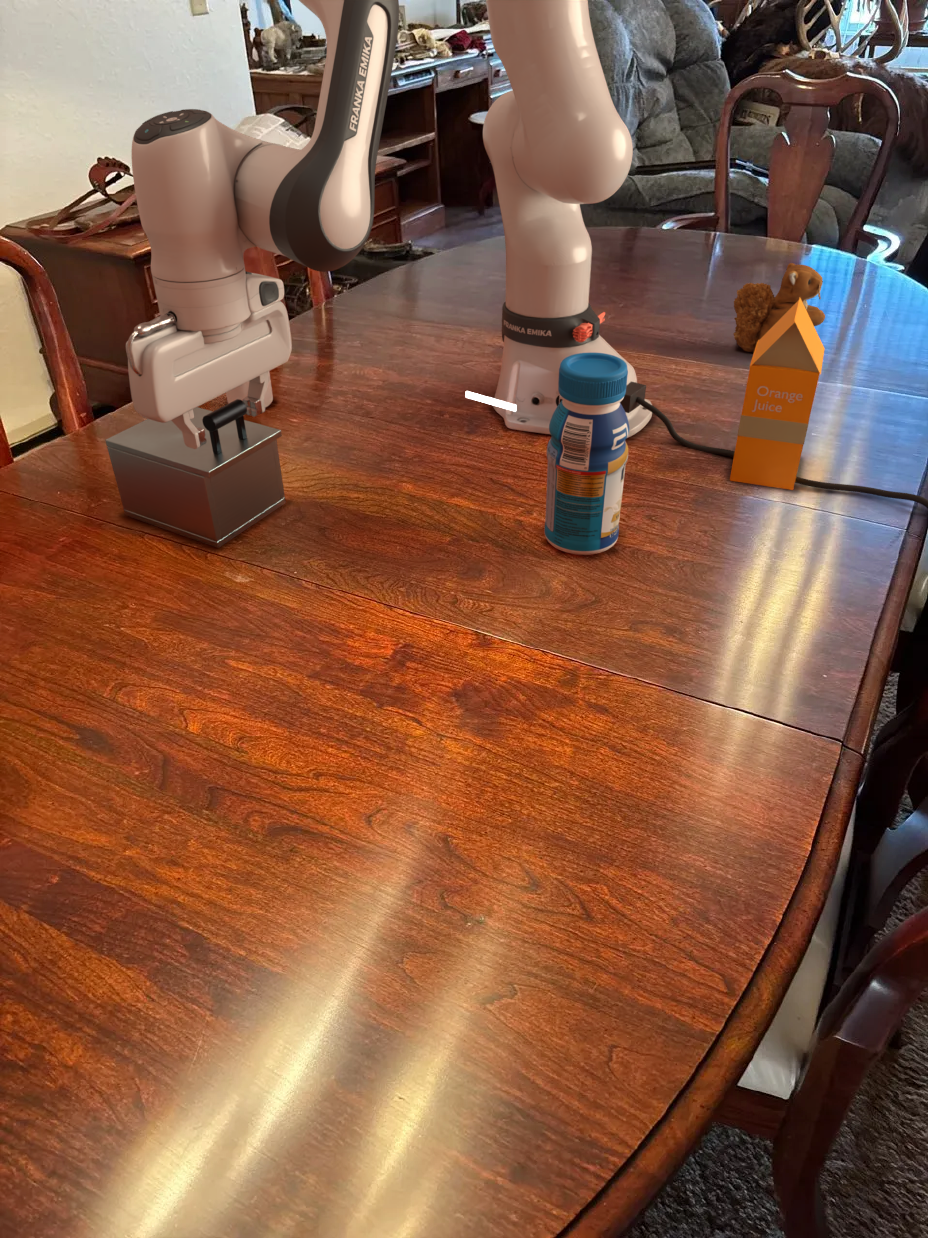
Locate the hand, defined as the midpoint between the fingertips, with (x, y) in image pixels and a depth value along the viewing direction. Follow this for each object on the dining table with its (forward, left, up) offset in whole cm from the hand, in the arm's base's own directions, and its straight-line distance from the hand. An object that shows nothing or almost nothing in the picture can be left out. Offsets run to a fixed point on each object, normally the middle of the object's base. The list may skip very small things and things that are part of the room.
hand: (226, 429), depth 99 cm
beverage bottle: (-35, -16, -12) cm, 40 cm away
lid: (+5, 0, -3) cm, 6 cm away
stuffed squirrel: (-37, -83, -12) cm, 92 cm away
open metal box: (+6, 0, -12) cm, 13 cm away
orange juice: (-48, -42, -12) cm, 65 cm away
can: (+22, -26, -12) cm, 36 cm away
